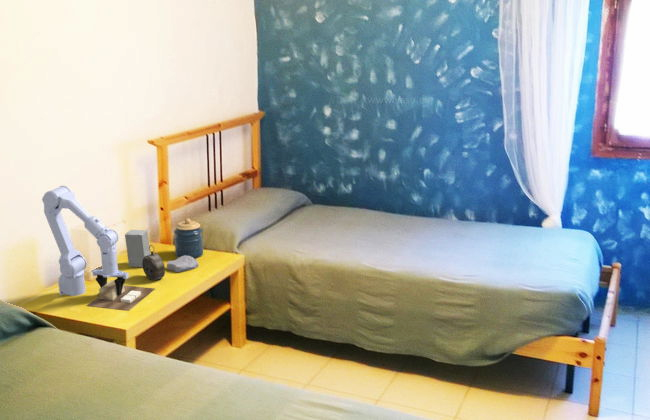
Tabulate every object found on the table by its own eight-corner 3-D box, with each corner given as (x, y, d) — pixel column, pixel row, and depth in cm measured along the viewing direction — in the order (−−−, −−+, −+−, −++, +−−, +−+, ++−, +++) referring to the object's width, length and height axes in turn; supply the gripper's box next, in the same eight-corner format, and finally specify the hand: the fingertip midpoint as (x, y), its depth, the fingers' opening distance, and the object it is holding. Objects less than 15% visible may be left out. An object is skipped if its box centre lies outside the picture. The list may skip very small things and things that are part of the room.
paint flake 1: (120, 301, 267) (120, 299, 267) (125, 297, 271) (125, 294, 270) (130, 302, 266) (130, 300, 266) (135, 298, 270) (135, 296, 269)
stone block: (200, 270, 309) (186, 261, 314) (201, 261, 306) (186, 252, 312) (179, 279, 300) (165, 269, 305) (180, 269, 298) (165, 260, 303)
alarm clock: (166, 283, 289) (164, 246, 284) (155, 286, 285) (153, 249, 281) (151, 276, 296) (149, 240, 292) (140, 279, 292) (138, 243, 288)
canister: (193, 248, 331) (192, 212, 326) (209, 255, 322) (207, 218, 317) (169, 254, 323) (167, 218, 318) (184, 261, 313) (182, 224, 308)
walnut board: (85, 309, 263) (85, 305, 263) (115, 287, 284) (115, 284, 284) (129, 314, 260) (128, 310, 259) (155, 292, 280) (155, 288, 280)
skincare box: (151, 263, 312) (149, 229, 307) (144, 268, 305) (142, 234, 300) (134, 261, 313) (131, 228, 309) (126, 267, 306) (124, 233, 302)
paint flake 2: (126, 297, 271) (126, 294, 271) (131, 293, 275) (131, 290, 275) (136, 298, 270) (135, 295, 270) (141, 294, 274) (140, 291, 274)
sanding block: (99, 299, 269) (99, 289, 267) (111, 290, 277) (111, 280, 276) (113, 301, 267) (112, 290, 266) (124, 292, 276) (123, 281, 275)
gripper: (87, 263, 266) (90, 295, 270) (121, 266, 263) (123, 299, 267) (96, 257, 273) (99, 289, 276) (130, 260, 269) (132, 292, 273)
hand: (112, 293), depth 272 cm, fingers closed on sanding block, 6 cm apart
